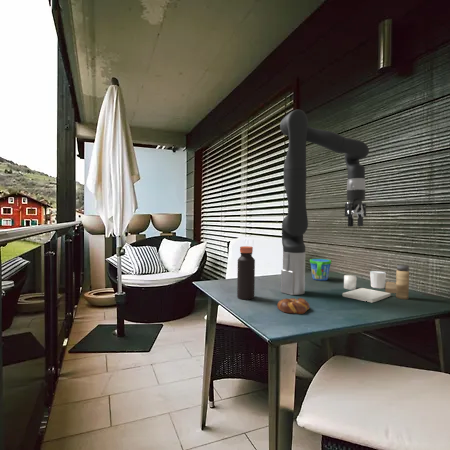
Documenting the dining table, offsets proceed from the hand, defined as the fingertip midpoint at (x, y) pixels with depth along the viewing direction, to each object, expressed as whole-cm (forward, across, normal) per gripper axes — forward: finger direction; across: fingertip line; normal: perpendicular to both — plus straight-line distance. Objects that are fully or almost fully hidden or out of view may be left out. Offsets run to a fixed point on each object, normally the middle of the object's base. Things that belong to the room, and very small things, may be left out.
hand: (355, 226), depth 135 cm
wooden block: (+28, -9, +12) cm, 32 cm away
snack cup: (+28, -7, -22) cm, 37 cm away
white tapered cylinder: (+28, -14, +4) cm, 32 cm away
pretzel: (+28, +45, +2) cm, 53 cm away
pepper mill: (+28, -2, +19) cm, 34 cm away
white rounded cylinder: (+28, -1, -3) cm, 28 cm away
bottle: (+28, +48, -19) cm, 59 cm away
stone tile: (+28, +7, +9) cm, 30 cm away
